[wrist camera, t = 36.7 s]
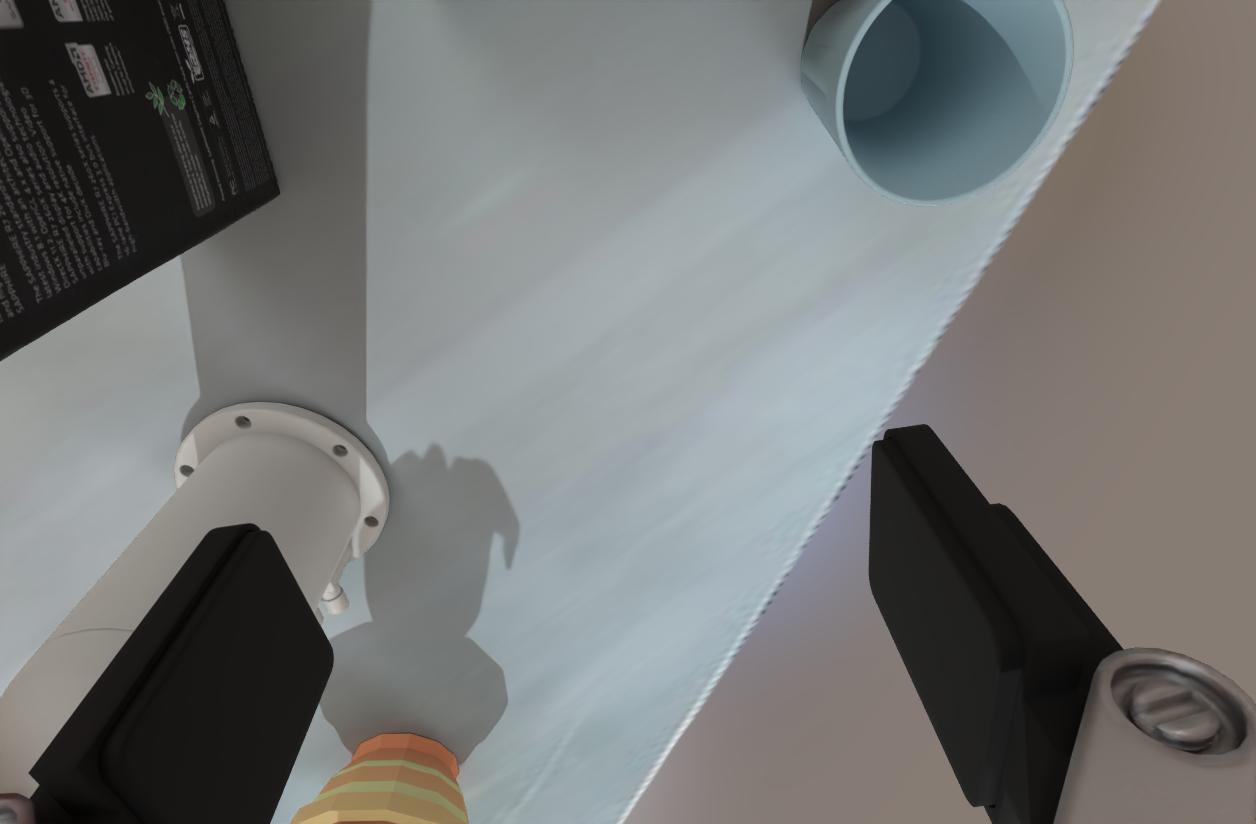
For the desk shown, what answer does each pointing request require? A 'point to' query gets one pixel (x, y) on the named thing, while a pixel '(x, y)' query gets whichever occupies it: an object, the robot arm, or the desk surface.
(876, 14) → the cup
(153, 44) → the graphics card box
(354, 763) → the potted cactus
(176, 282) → the desk surface
